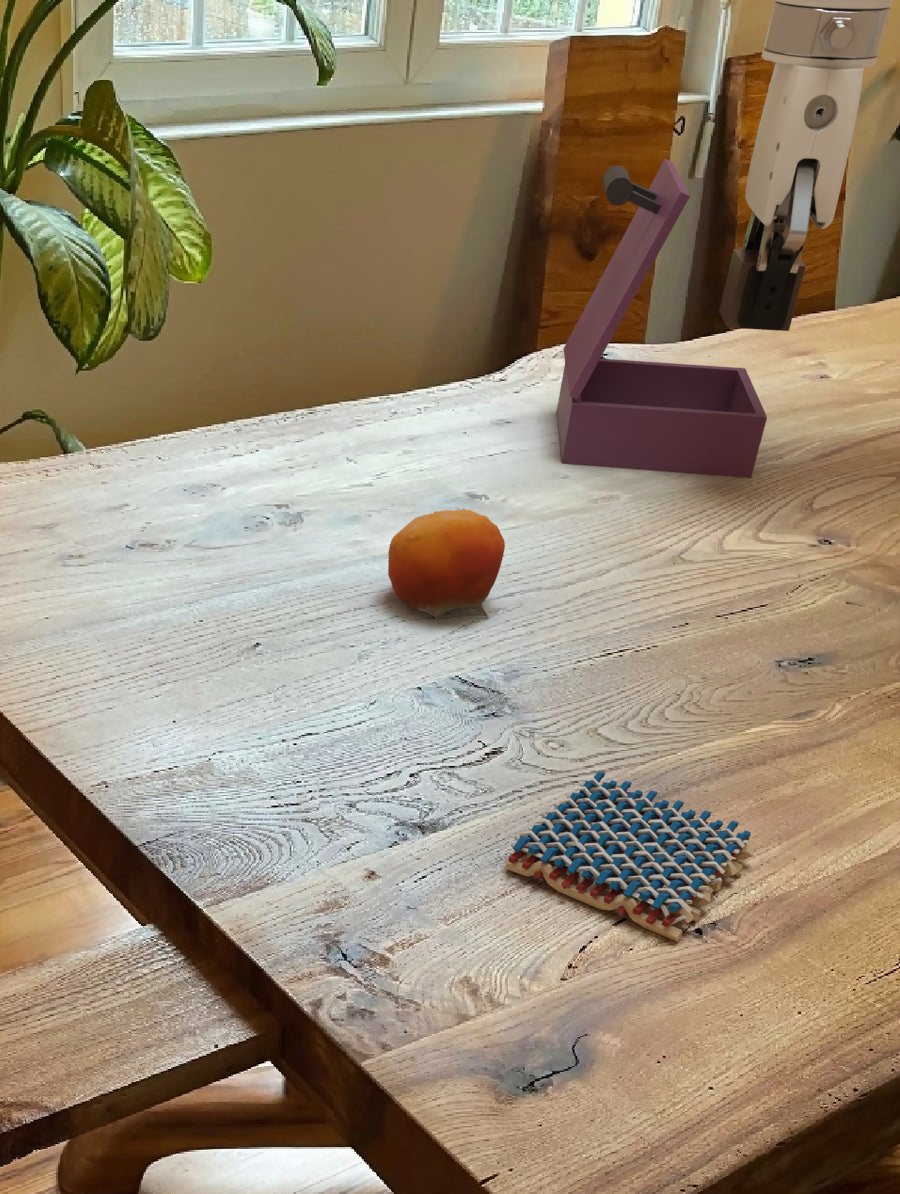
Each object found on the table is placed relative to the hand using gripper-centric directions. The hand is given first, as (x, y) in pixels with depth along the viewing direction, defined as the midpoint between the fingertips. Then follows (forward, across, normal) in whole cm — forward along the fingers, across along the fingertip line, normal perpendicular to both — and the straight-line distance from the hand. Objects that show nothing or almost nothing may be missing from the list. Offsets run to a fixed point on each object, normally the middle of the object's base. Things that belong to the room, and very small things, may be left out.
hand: (755, 316), depth 112 cm
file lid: (+1, +11, +9) cm, 14 cm away
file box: (+15, +11, +4) cm, 19 cm away
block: (0, 0, 0) cm, 0 cm away
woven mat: (+16, -54, +11) cm, 57 cm away
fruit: (+16, -22, +22) cm, 34 cm away
